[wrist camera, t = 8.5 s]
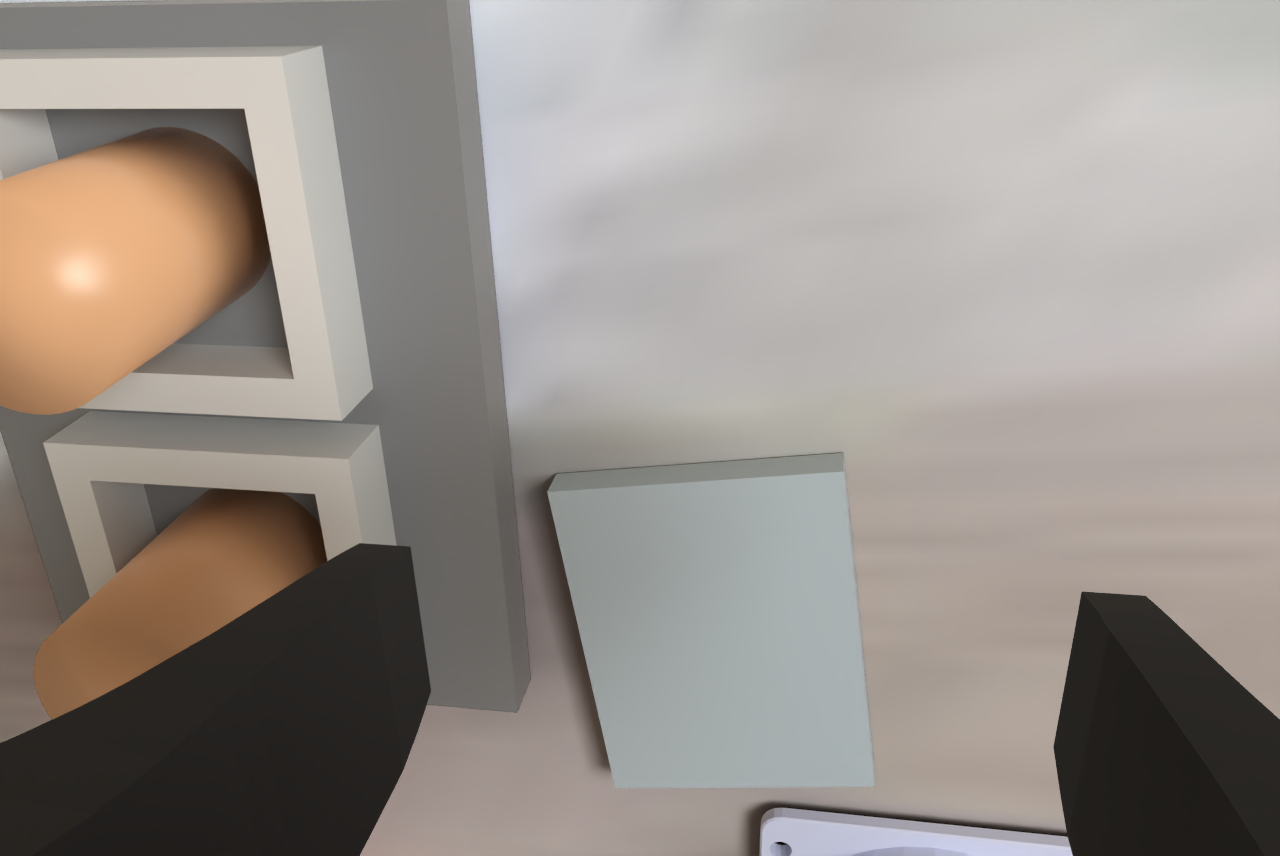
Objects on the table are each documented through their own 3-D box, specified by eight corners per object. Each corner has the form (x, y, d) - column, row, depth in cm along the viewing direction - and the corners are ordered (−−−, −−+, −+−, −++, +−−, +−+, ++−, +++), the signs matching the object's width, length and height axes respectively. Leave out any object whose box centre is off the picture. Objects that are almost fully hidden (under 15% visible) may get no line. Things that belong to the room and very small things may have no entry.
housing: (530, 678, 25) (499, 759, 23) (107, 642, 27) (36, 713, 25) (468, -7, 19) (414, 6, 16) (-84, 4, 20) (-207, 17, 18)
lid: (873, 761, 25) (874, 787, 24) (621, 764, 26) (614, 788, 25) (843, 452, 21) (843, 471, 21) (556, 474, 23) (546, 492, 22)
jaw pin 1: (284, 309, 21) (138, 422, 16) (122, 299, 21) (-65, 406, 17) (257, 130, 19) (88, 201, 15) (83, 123, 20) (-133, 189, 15)
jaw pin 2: (344, 620, 24) (231, 783, 19) (204, 608, 24) (62, 765, 20) (320, 486, 22) (191, 630, 18) (171, 477, 23) (10, 615, 18)
